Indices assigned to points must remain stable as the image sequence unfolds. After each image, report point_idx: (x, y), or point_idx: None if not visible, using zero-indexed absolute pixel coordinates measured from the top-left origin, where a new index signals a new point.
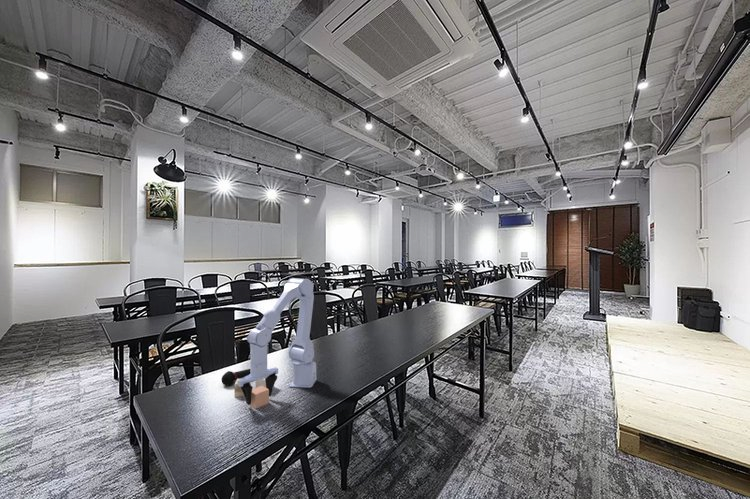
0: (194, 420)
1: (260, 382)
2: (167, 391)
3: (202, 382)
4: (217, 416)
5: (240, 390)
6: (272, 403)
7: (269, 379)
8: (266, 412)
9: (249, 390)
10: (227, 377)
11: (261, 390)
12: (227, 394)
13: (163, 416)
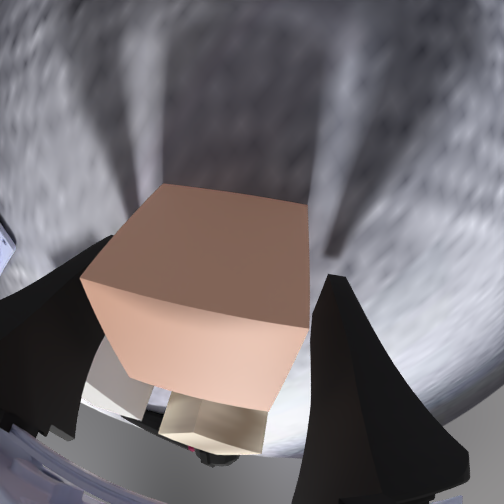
0: (480, 361)
1: (124, 386)
2: None
3: (263, 449)
4: (458, 331)
5: (243, 409)
6: (144, 147)
7: (23, 387)
8: (296, 40)
9: (411, 438)
10: (227, 456)
11: (170, 338)
12: (271, 409)
13: (448, 412)
